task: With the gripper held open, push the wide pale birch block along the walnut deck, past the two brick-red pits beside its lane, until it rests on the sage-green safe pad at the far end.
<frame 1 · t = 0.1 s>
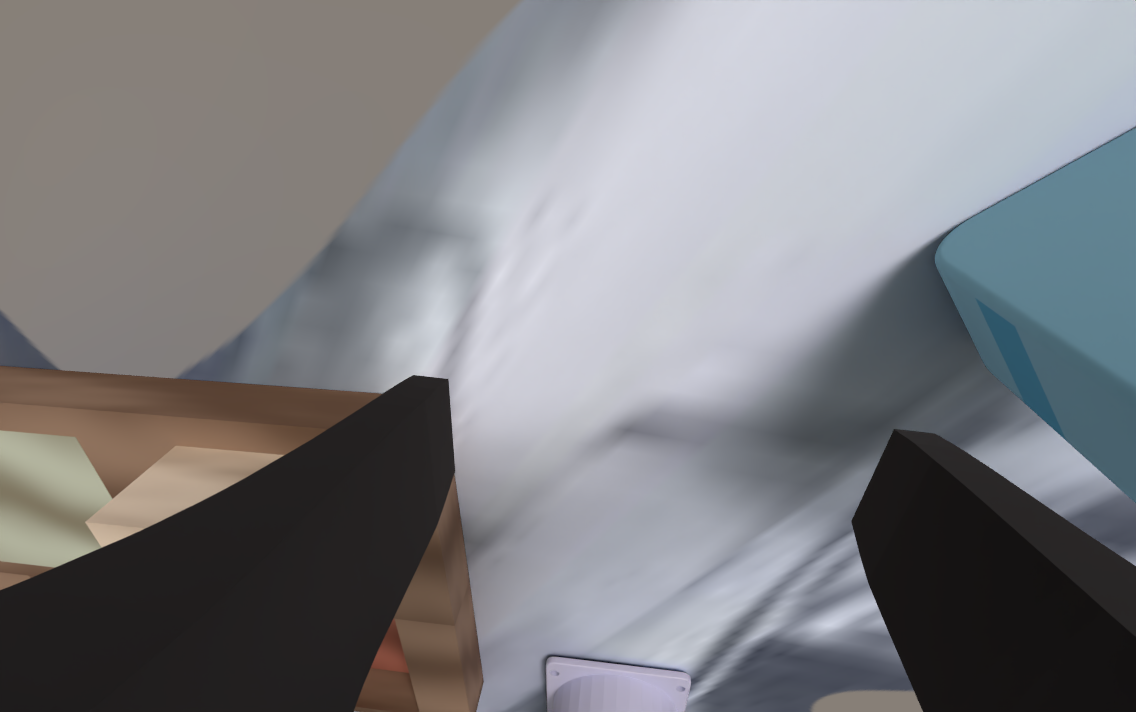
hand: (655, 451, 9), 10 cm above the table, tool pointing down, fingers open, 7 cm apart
birch block: (287, 531, 23), point 2 cm above the table, touching trap deck
trap deck: (231, 542, 28), on the table
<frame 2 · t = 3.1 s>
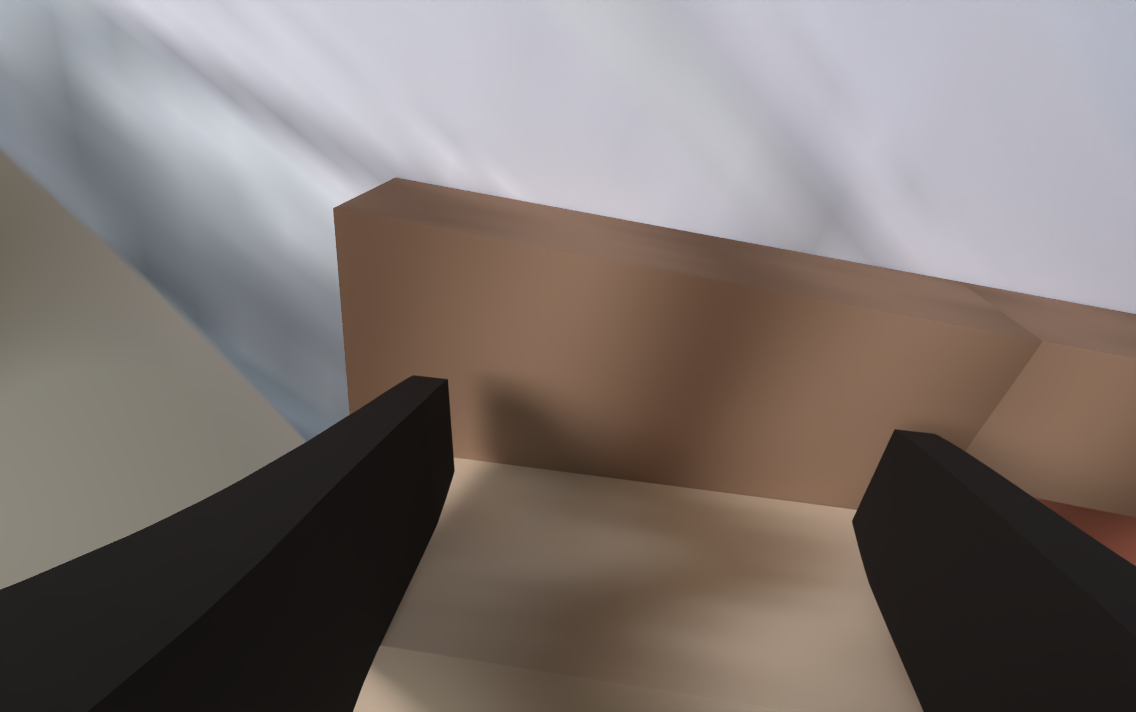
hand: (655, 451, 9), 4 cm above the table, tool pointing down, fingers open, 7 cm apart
birch block: (614, 589, 12), point 2 cm above the table, touching gripper, trap deck
trap deck: (716, 643, 17), on the table
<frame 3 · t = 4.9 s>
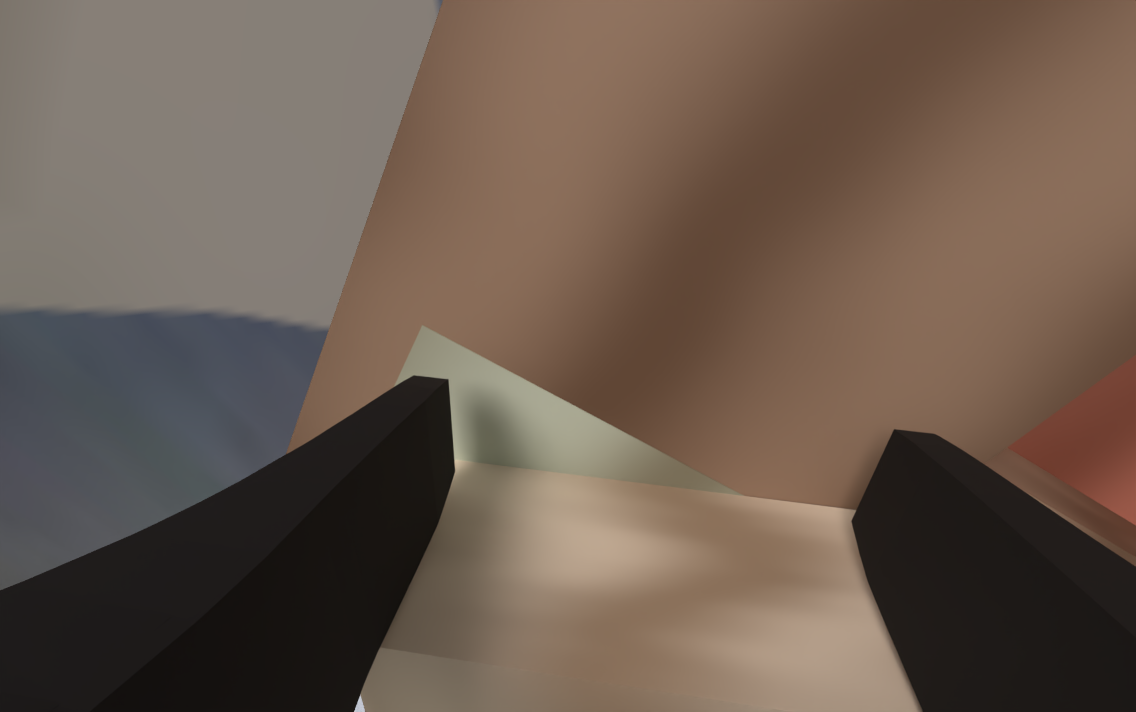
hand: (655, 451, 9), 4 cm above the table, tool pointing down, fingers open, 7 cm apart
birch block: (634, 593, 12), point 3 cm above the table, touching trap deck
trap deck: (849, 400, 12), on the table
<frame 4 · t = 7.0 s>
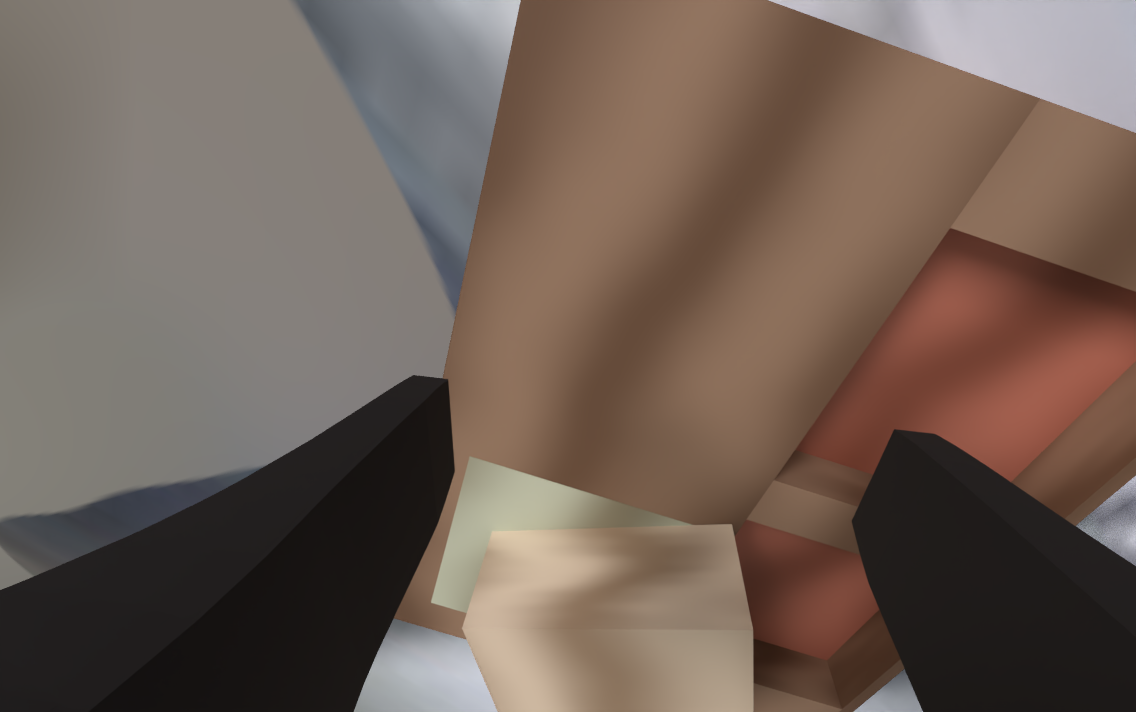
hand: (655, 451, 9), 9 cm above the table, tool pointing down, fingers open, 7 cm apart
birch block: (618, 589, 21), point 3 cm above the table, touching trap deck
trap deck: (722, 445, 20), on the table
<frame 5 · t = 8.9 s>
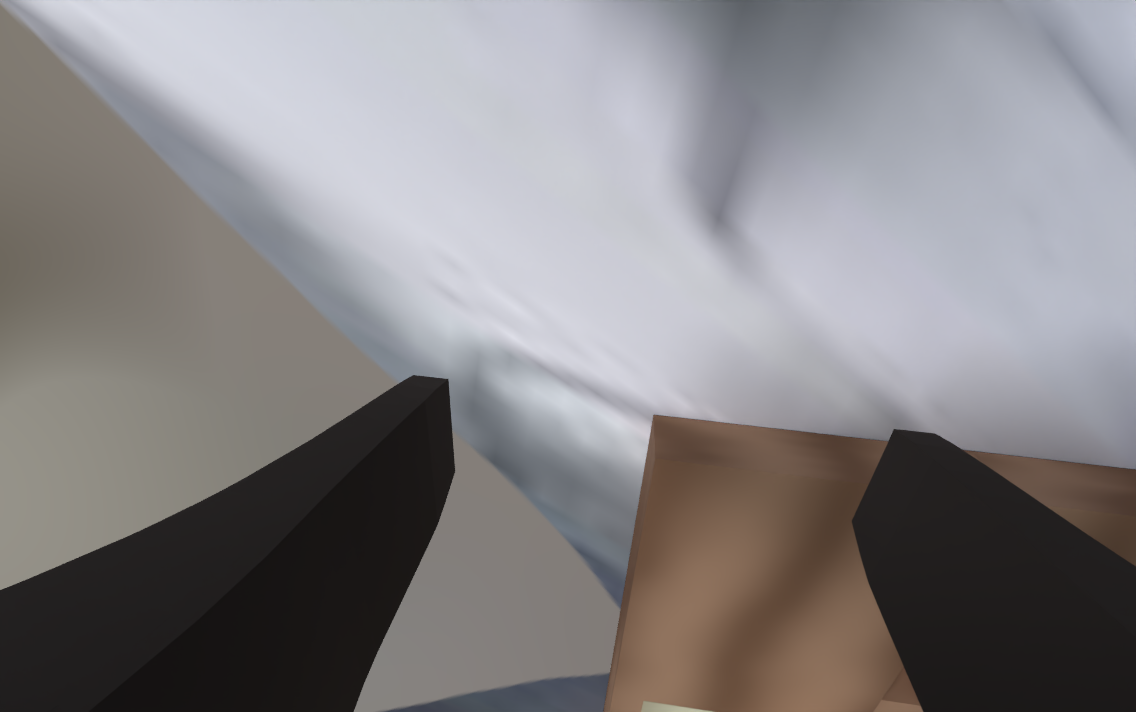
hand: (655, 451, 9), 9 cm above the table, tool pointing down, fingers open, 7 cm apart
trap deck: (832, 653, 26), on the table
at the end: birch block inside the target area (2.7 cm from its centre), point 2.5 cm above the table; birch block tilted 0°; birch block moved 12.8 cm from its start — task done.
